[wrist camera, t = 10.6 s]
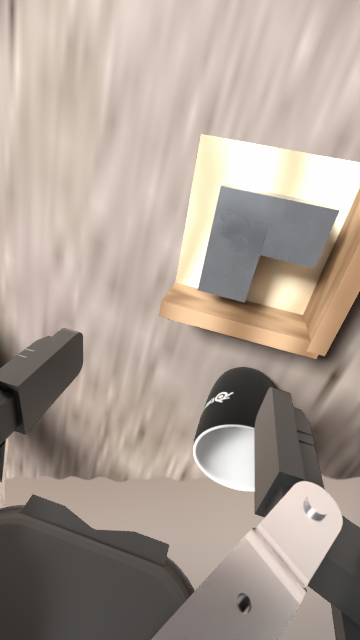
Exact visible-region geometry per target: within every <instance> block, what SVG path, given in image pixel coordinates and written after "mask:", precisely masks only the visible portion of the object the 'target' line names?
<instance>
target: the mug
mask: <svg viewBox="0 0 360 640" xmlns="http://www.w3.org/2000/svg"><path fill="white" fill-rule="evenodd" d="M270 387H271V388H275V387H274V385H273V384H272V382H271V381H270V380H269V379H268V378H267V377H266V376H265V375H264V374H263V373H261V372H259V371H257V370H255V369H252V368H247V367H238V368H234V369H231V370H229V371H227V372H225V373H224V374H223V375H222V376H221V377H220V378H219V379H218V380H217V381H216V383H215V385H214V386H213V388H212V390H211V392H210V394H209V397H208V399H207V401H206V404H205V407H204V409H203V412H202V415H201V418H200V421H199V424H198V428H197V431H196V435H195V439H194V445H193V455H194V459H195V461H196V463H197V465H198V466H199V468H200V469H201V470H202V471H203V472H204V473H205V474H206V475H207V476H208V477H209V478H211V479H212V480H214V481H216V482H217V483H219V484H221V485H224V486H226V487H229V488H232V489H236V490H240V491H248V492H249V491H250V492H255V461H254V428H255V421H256V417H257V414H258V412H259V409H260V407H261V405H262V403H263V400H264V398H265V396H266V393H267V391H268V389H269V388H270Z"/></svg>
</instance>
